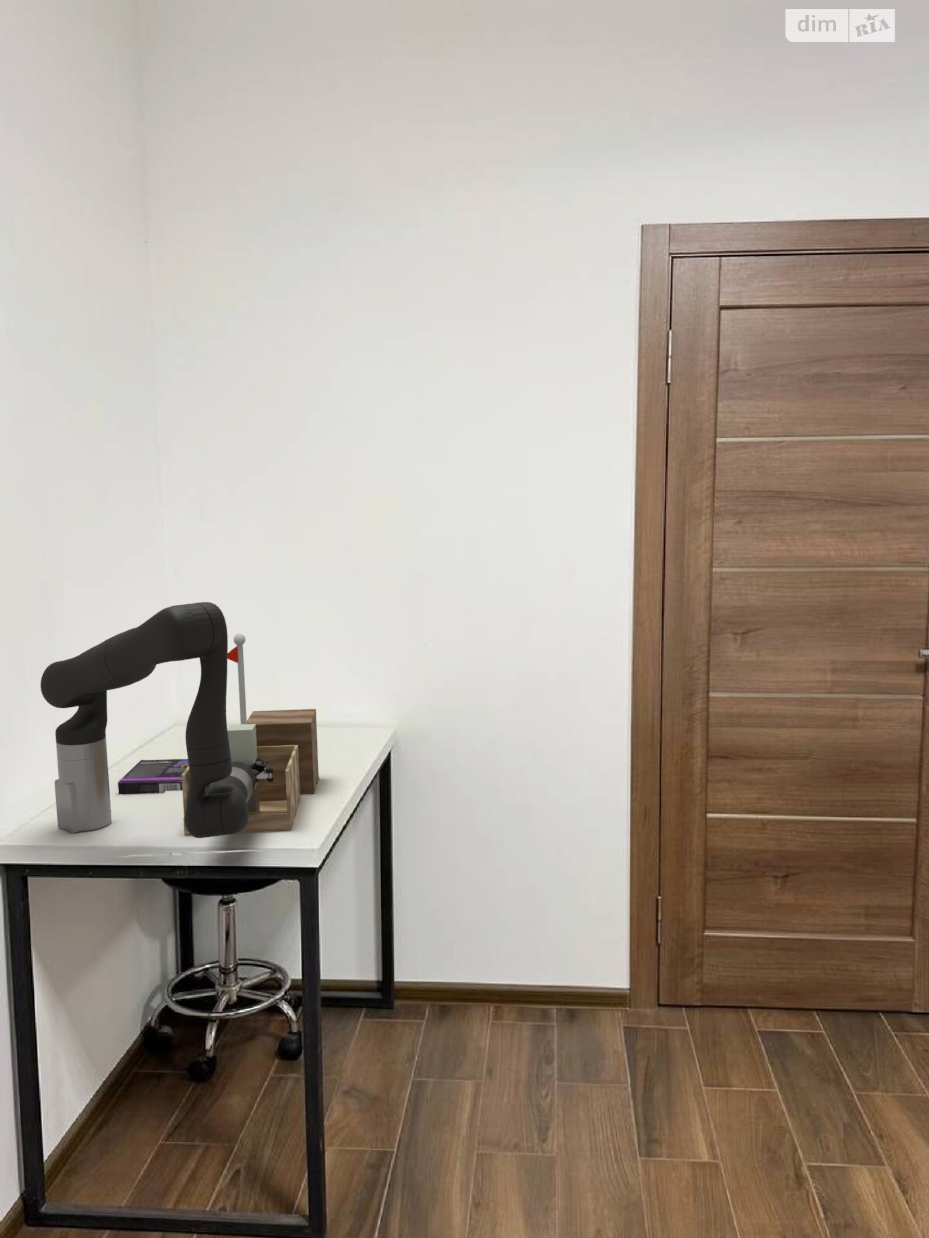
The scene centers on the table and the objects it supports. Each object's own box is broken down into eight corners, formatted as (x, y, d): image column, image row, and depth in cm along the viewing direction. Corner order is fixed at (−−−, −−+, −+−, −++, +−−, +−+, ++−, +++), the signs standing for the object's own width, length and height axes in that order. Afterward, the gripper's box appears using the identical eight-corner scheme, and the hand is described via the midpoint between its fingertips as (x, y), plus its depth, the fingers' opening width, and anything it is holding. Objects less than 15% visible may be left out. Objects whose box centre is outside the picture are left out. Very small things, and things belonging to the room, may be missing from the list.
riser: (314, 795, 218) (311, 722, 216) (247, 798, 217) (244, 725, 215) (318, 777, 232) (315, 708, 230) (256, 780, 231) (253, 711, 229)
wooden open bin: (291, 832, 195) (288, 771, 193) (184, 837, 194) (180, 775, 192) (300, 800, 215) (298, 744, 214) (204, 804, 214) (201, 748, 212)
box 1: (182, 796, 223) (201, 770, 243) (181, 781, 223) (200, 756, 242) (117, 797, 223) (142, 771, 242) (116, 782, 222) (141, 757, 242)
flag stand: (249, 742, 267) (243, 628, 263) (281, 749, 259) (276, 632, 255) (207, 752, 257) (201, 635, 253) (240, 760, 249) (234, 639, 245)
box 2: (256, 818, 202) (252, 729, 200) (231, 819, 202) (226, 730, 200) (259, 810, 207) (255, 723, 205) (234, 811, 207) (230, 724, 205)
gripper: (270, 765, 189) (280, 743, 206) (191, 768, 188) (207, 746, 205) (272, 804, 190) (281, 779, 207) (193, 808, 189) (209, 782, 206)
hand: (244, 763), depth 206 cm, fingers closed on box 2, 5 cm apart
